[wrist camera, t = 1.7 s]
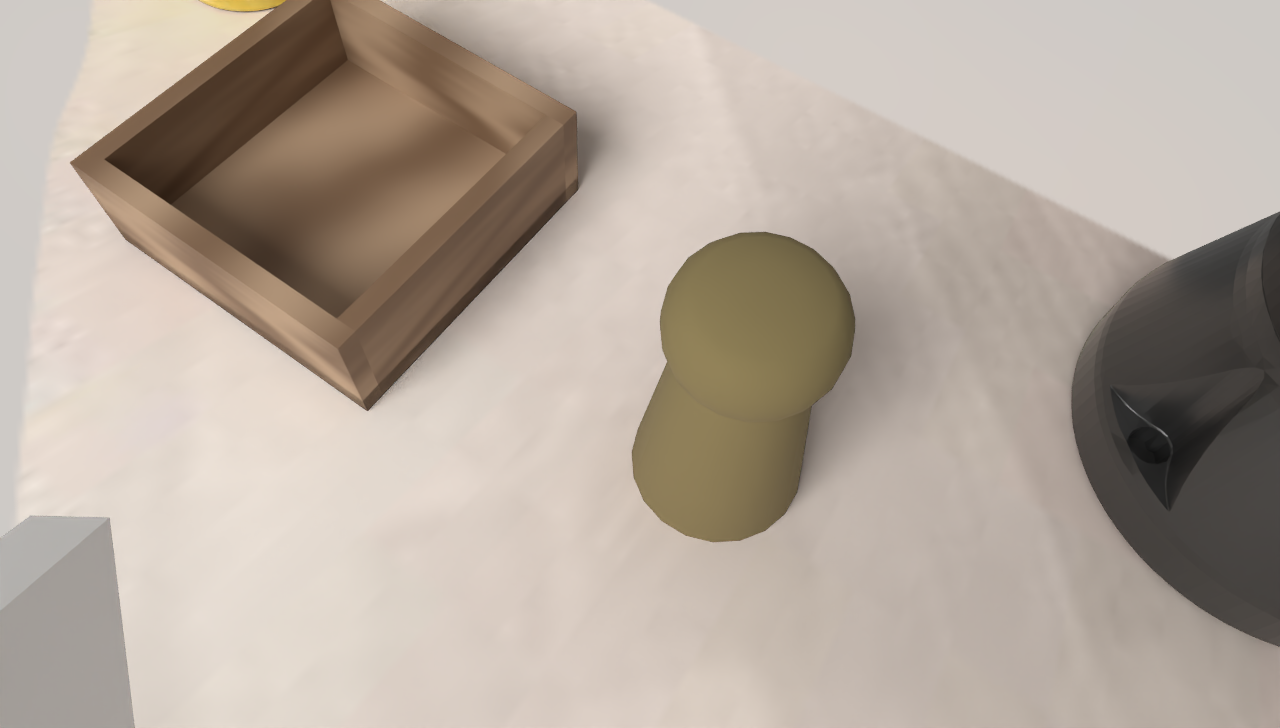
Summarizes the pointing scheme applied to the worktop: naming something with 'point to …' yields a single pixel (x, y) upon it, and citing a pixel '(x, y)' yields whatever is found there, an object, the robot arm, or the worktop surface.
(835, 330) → the cork
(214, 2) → the plant pot
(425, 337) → the walnut crate
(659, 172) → the worktop surface
